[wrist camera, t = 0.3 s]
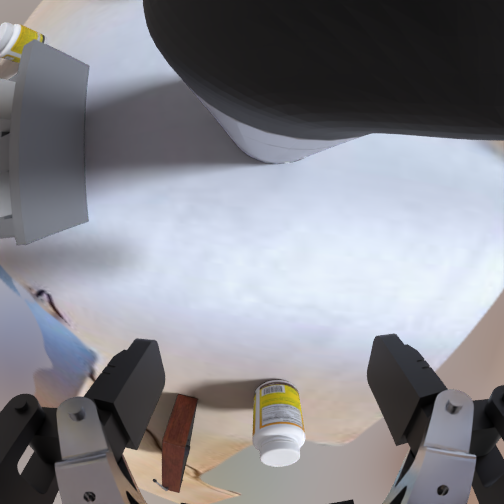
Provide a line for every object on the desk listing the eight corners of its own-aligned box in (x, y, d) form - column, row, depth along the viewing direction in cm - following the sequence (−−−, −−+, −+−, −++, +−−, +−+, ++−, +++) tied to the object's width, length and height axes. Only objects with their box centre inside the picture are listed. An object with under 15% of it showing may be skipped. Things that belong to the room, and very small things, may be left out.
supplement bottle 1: (47, 29, 19) (11, 12, 11) (47, 52, 20) (7, 35, 12) (25, 49, 19) (-12, 36, 11) (24, 72, 20) (-17, 61, 12)
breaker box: (29, 92, 21) (-24, 82, 12) (89, 65, 21) (34, 39, 11) (30, 227, 26) (-26, 248, 17) (88, 221, 26) (26, 244, 16)
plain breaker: (18, 175, 21) (-35, 182, 13) (39, 168, 21) (-17, 174, 13) (20, 210, 22) (-31, 225, 14) (41, 206, 22) (-14, 221, 14)
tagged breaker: (21, 100, 19) (-28, 93, 11) (43, 89, 18) (-8, 76, 11) (18, 132, 20) (-33, 131, 12) (39, 123, 20) (-15, 117, 12)
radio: (190, 455, 36) (174, 525, 22) (173, 450, 36) (153, 520, 22) (203, 388, 31) (178, 488, 17) (179, 382, 31) (146, 479, 17)
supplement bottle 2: (277, 412, 32) (280, 474, 22) (244, 395, 31) (240, 460, 22) (307, 390, 31) (319, 454, 21) (274, 370, 30) (278, 438, 20)
